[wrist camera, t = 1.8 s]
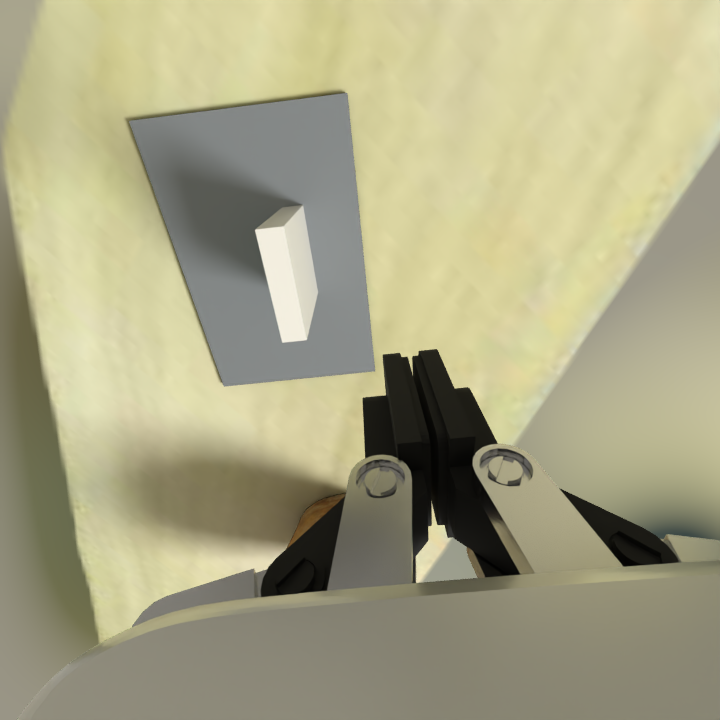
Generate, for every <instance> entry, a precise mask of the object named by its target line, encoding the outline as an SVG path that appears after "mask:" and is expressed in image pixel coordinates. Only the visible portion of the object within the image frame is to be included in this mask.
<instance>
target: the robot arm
mask: <svg viewBox="0 0 720 720" xmlns="http://www.w3.org/2000/svg"><path fill="white" fill-rule="evenodd" d="M412 362H413V375H412V371H411V368H410V364H409V361H408V357H401V354H400V353H395V354H385V355H383V365H384V377H385V388H386V396H376V397H365V398H363V417H364V439H365V459H363V460H362V461H360V462H359V463H357V464H356V466H355V467H354V468H353V469H352V471H351V473H350V476H349V480H348V485H347V491H346V496H345V497H343V498H342V499H341V500H340V501H339V502H338V503H337V504H336V505H335V506H334V507H332V508H331V509H330V510H329V511H328V512H327V513H326V514H325V515H324V516H323V517H321V518H320V519H319V520H318V521H317V522H316V523H315V524H314V525H313V526H311V527H310V528H309V529H308V530H307V531H306V532H305V533H304V534H303V535H302V536H300V537H299V538H298V539H297V540H296V541H295V542H294V543H293V544H292V545H290V546H289V547H288V548H287V549H286V550H285V551H284V552H283V553H282V554H281V555H279V556H278V557H277V558H276V559H275V560H274V562H273V563H272V564H271V565H270V566H269V567H268V569H267V570H264V571H261V572H258V573H256V572H255V570H254V569H251V570H248V571H245V572H241V573H238V574H235V575H232V576H229V577H226V578H222V579H219V580H216V581H213V582H210V583H207V584H204V585H200V586H197V587H194V588H191V589H188V590H185V591H181V592H178V593H175V594H172V595H169V596H166V597H164V598H162V599H160V600H158V601H156V602H154V603H153V604H152V605H151V606H149V607H148V608H147V609H146V610H145V611H143V612H142V614H141V615H140V616H139V618H138V619H137V620H136V622H135V623H134V624H133V626H132V628H129V629H127V630H125V631H123V632H121V633H119V634H117V635H115V636H113V637H111V638H109V639H107V640H105V641H103V642H102V643H100V644H98V645H96V646H95V647H93V648H91V649H90V650H88V651H87V652H85V653H84V654H82V655H81V656H79V657H78V658H76V659H75V660H73V661H72V662H71V663H69V664H68V665H67V666H66V667H64V668H63V669H62V670H61V671H60V672H58V673H57V674H56V675H55V676H54V677H53V678H52V679H51V680H50V681H49V682H48V683H47V684H46V685H45V686H44V687H43V688H42V689H41V690H40V691H39V692H38V693H37V695H36V696H35V697H34V698H33V699H32V701H31V702H30V703H29V704H28V705H27V707H26V708H25V709H24V711H23V712H22V713H21V714H20V716H19V717H18V718H17V720H720V541H719V540H711V539H702V538H694V537H693V538H692V537H685V536H676V535H668V534H667V535H666V537H665V539H659V538H658V537H657V536H656V535H654V534H652V533H651V532H649V531H647V530H646V529H644V528H642V527H640V526H638V525H636V524H634V523H632V522H629V521H627V520H625V519H623V518H621V517H619V516H617V515H615V514H613V513H610V512H608V511H606V510H604V509H602V508H600V507H598V506H595V505H594V504H591V503H589V502H587V501H585V500H583V499H581V498H579V497H577V496H575V495H572V494H570V493H568V492H566V491H564V490H562V489H560V488H558V487H557V485H556V484H555V483H554V482H553V481H552V479H551V478H550V477H549V476H548V474H547V473H546V472H545V471H544V469H543V468H542V467H541V466H540V465H539V464H538V462H537V461H536V460H535V459H534V458H533V457H532V456H531V455H530V454H529V453H527V452H525V451H523V450H522V449H520V448H517V447H514V446H511V445H506V444H498V443H497V441H496V439H495V437H494V435H493V433H492V431H491V430H490V428H489V426H488V424H487V422H486V420H485V418H484V416H483V414H482V412H481V410H480V408H479V406H478V404H477V402H476V400H475V398H474V396H473V394H472V392H471V390H470V389H469V388H468V387H467V388H457V389H454V386H453V384H452V382H451V380H450V377H449V375H448V373H447V370H446V368H445V366H444V364H443V361H442V359H441V357H440V355H439V352H438V350H437V349H434V350H424V351H419V354H418V356H413V358H412ZM431 500H432V504H433V509H434V513H435V517H436V521H437V524H438V525H445V528H446V532H447V536H448V538H450V537H454V538H455V539H456V540H457V541H459V542H460V543H462V544H463V545H465V546H466V547H467V553H468V556H469V559H470V561H471V564H472V566H473V568H474V570H475V573H476V575H477V577H478V578H473V579H461V580H449V581H436V582H424V583H416V555H417V554H418V553H419V551H420V550H421V549H422V548H423V546H424V545H425V544H426V543H427V541H428V526H431V525H432V514H431Z"/></svg>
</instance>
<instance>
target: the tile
mask: <svg viewBox="0 0 720 720" xmlns="http://www.w3.org/2000/svg"><path fill="white" fill-rule="evenodd" d="M255 232H256V236H257V241H258V246H259V250H260V254H261V258H262V262H263V266H264V270H265V275H266V279H267V283H268V287H269V291H270V295H271V299H272V303H273V308H274V312H275V316H276V320H277V324H278V328H279V332H280V336H281V340H282V343H284V342H294V341H304V340H307V337H308V333H309V329H310V325H311V320H312V316H313V312H314V308H315V303H316V299H317V295H318V289H317V284H316V278H315V272H314V266H313V260H312V254H311V249H310V243H309V237H308V231H307V225H306V220H305V214H304V208H303V205H299V206H290V207H282V208H281V209H280V210H278V211H277V212H276V213H275V214H274V215H272V216H271V217H270V218H269V219H267V220H266V221H265V222H264V223H262V224H261V225H260V226H259V227H257V228H256V229H255Z"/></svg>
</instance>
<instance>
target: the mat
mask: <svg viewBox="0 0 720 720" xmlns="http://www.w3.org/2000/svg"><path fill="white" fill-rule="evenodd" d="M129 123H130V126H131V129H132V131H133V134H134V137H135V140H136V143H137V145H138V148H139V151H140V154H141V157H142V159H143V162H144V165H145V168H146V171H147V173H148V176H149V179H150V182H151V184H152V187H153V190H154V193H155V196H156V198H157V201H158V204H159V207H160V210H161V212H162V215H163V218H164V221H165V224H166V226H167V229H168V232H169V235H170V237H171V240H172V243H173V246H174V249H175V251H176V254H177V257H178V260H179V263H180V265H181V268H182V271H183V274H184V277H185V279H186V282H187V285H188V288H189V290H190V293H191V296H192V299H193V302H194V304H195V307H196V310H197V313H198V316H199V318H200V321H201V324H202V327H203V330H204V332H205V335H206V338H207V341H208V343H209V346H210V349H211V352H212V355H213V357H214V360H215V363H216V366H217V369H218V371H219V374H220V377H221V380H222V383H223V385H224V386H233V385H243V384H253V383H263V382H273V381H283V380H293V379H303V378H313V377H322V376H332V375H342V374H352V373H362V372H372V371H375V365H374V355H373V345H372V335H371V325H370V315H369V305H368V295H367V285H366V275H365V265H364V255H363V245H362V235H361V225H360V215H359V205H358V195H357V185H356V175H355V165H354V155H353V145H352V135H351V125H350V115H349V105H348V95H347V93H342V94H335V95H327V96H319V97H311V98H304V99H296V100H288V101H280V102H272V103H265V104H257V105H249V106H241V107H234V108H226V109H218V110H210V111H202V112H195V113H187V114H179V115H171V116H164V117H156V118H148V119H140V120H132V121H129ZM299 205H303V208H304V214H305V220H306V225H307V231H308V237H309V243H310V249H311V254H312V260H313V266H314V272H315V278H316V284H317V289H318V295H317V299H316V303H315V308H314V312H313V316H312V320H311V325H310V329H309V333H308V337H307V340H304V341H294V342H284V343H282V340H281V336H280V332H279V328H278V324H277V320H276V316H275V312H274V308H273V303H272V299H271V295H270V291H269V287H268V283H267V279H266V275H265V270H264V266H263V262H262V258H261V254H260V250H259V246H258V241H257V236H256V232H255V229H256V228H257V227H259V226H260V225H261V224H262V223H264V222H265V221H266V220H267V219H269V218H270V217H271V216H272V215H274V214H275V213H276V212H277V211H278V210H280V209H281V208H282V207H290V206H299Z"/></svg>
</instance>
